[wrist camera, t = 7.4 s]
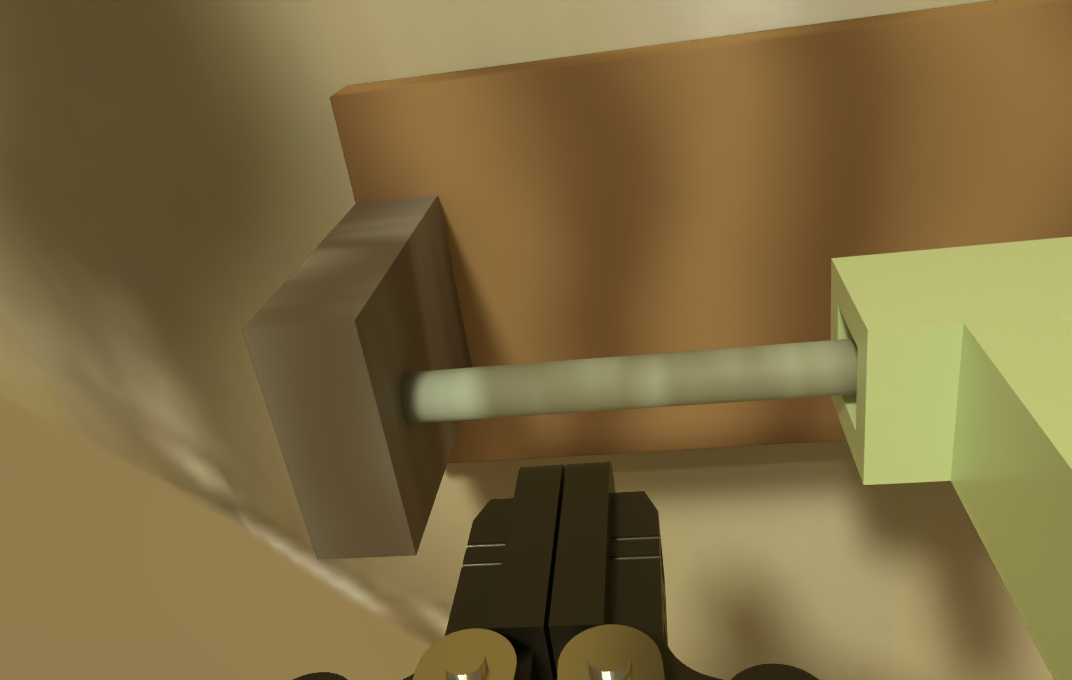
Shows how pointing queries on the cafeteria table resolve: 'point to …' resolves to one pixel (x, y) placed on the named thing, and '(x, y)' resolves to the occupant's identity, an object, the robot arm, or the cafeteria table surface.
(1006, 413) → the pale green tee block
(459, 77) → the lead screw stage
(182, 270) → the cafeteria table surface
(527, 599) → the robot arm
